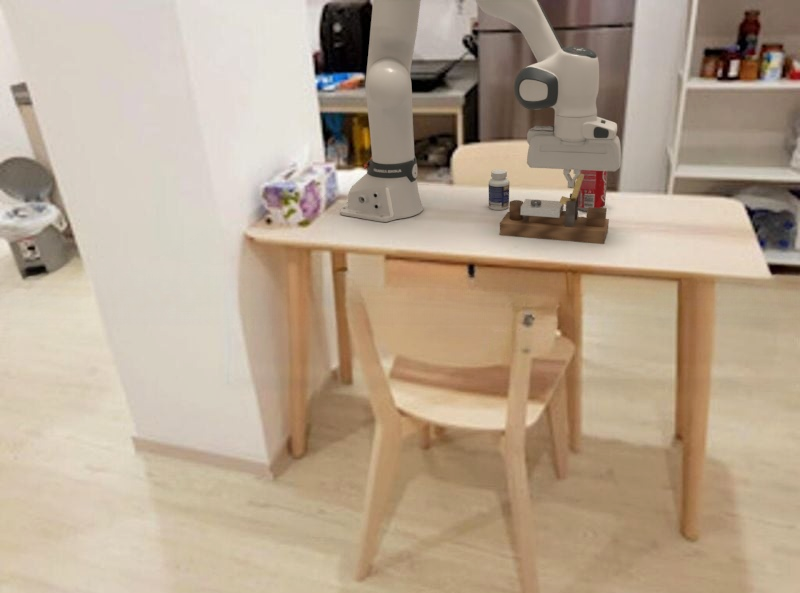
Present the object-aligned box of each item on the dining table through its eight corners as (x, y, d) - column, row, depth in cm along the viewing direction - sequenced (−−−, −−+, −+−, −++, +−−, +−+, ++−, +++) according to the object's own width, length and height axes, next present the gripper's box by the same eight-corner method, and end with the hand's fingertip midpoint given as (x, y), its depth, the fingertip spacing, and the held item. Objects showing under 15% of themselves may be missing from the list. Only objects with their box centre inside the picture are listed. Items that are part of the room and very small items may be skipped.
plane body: (499, 235, 155) (499, 199, 151) (507, 223, 162) (508, 188, 158) (603, 243, 147) (607, 206, 142) (607, 231, 153) (611, 194, 149)
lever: (558, 204, 149) (567, 175, 145) (561, 199, 152) (570, 170, 148) (573, 208, 148) (582, 179, 144) (575, 203, 151) (584, 174, 147)
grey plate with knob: (520, 214, 152) (520, 204, 151) (525, 206, 157) (525, 196, 156) (559, 217, 149) (559, 207, 148) (563, 209, 153) (564, 199, 152)
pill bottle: (507, 211, 169) (507, 174, 165) (486, 210, 171) (486, 174, 167) (510, 204, 174) (511, 168, 169) (490, 203, 175) (491, 168, 171)
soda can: (605, 213, 164) (610, 162, 158) (576, 212, 165) (579, 162, 159) (603, 203, 170) (607, 154, 164) (575, 203, 171) (578, 154, 165)
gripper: (524, 128, 142) (523, 189, 149) (622, 131, 135) (616, 194, 142) (530, 122, 148) (528, 181, 154) (624, 124, 140) (619, 185, 147)
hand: (571, 187), depth 148 cm, fingers closed, pressing on lever
